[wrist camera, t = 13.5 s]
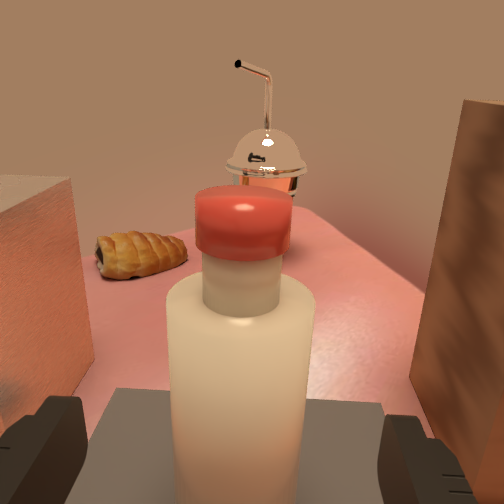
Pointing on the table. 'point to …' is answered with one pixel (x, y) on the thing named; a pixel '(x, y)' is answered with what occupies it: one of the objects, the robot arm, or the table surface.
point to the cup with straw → (266, 150)
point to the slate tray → (161, 452)
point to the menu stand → (468, 307)
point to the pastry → (138, 254)
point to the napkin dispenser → (40, 295)
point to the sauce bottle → (239, 354)
